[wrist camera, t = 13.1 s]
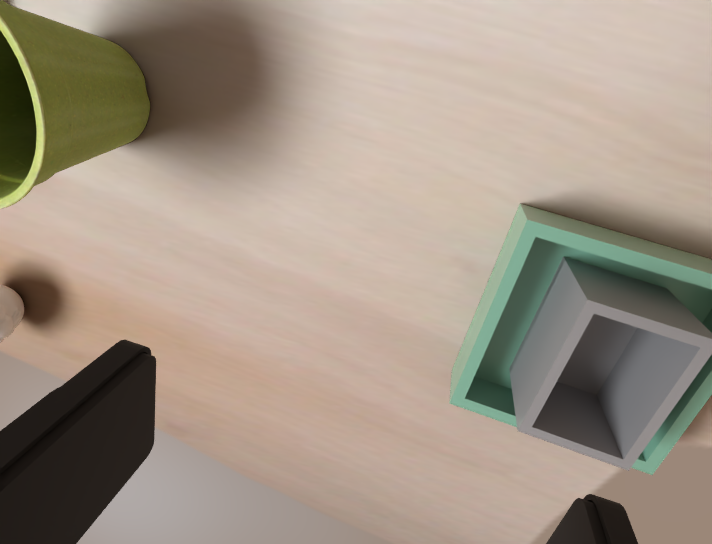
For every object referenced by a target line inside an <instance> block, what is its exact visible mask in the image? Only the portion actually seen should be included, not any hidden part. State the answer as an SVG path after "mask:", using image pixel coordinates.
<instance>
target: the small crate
mask: <svg viewBox="0 0 712 544" xmlns="http://www.w3.org/2000/svg"><path fill="white" fill-rule="evenodd" d="M711 355H712V333H711V332H710V331H709V330H708V329H707V328H706V327H705V326H704V325H703V324H702V323H701V322H700V321H699V320H698V319H697V318H696V317H695V316H694V315H693V314H692V313H691V312H690V311H689V310H688V309H687V308H686V307H685V306H684V305H683V304H682V303H681V302H680V301H679V300H678V299H677V298H676V297H675V296H674V295H673V294H672V293H671V292H670V291H669V290H668V289H667V288H664V287H661V286H658V285H654V284H651V283H648V282H645V281H641V280H638V279H635V278H632V277H628V276H625V275H622V274H619V273H615V272H612V271H609V270H606V269H602V268H599V267H596V266H593V265H589V264H586V263H583V262H580V261H576V260H573V259H570V258H567V257H563V258H562V260H561V262H560V264H559V266H558V268H557V271H556V273H555V275H554V277H553V279H552V281H551V283H550V285H549V287H548V289H547V291H546V293H545V295H544V297H543V300H542V302H541V304H540V306H539V308H538V310H537V312H536V314H535V316H534V318H533V320H532V322H531V324H530V326H529V329H528V331H527V333H526V335H525V337H524V339H523V341H522V343H521V345H520V347H519V349H518V351H517V353H516V355H515V358H514V360H513V362H512V364H511V366H510V368H509V371H510V379H511V386H512V393H513V401H514V408H515V415H516V423H517V430H518V431H519V432H522V433H525V434H528V435H531V436H533V437H536V438H539V439H542V440H544V441H547V442H550V443H553V444H556V445H558V446H561V447H564V448H567V449H570V450H572V451H575V452H578V453H581V454H583V455H586V456H589V457H592V458H595V459H597V460H600V461H603V462H606V463H609V464H611V465H614V466H617V467H620V468H622V469H625V470H628V471H629V470H630V468H631V467H632V466H633V464H634V463H635V461H636V460H637V459H638V457H639V456H640V454H641V453H642V452H643V450H644V449H645V447H646V446H647V445H648V443H649V442H650V440H651V439H652V438H653V436H654V435H655V433H656V432H657V431H658V429H659V428H660V426H661V425H662V424H663V422H664V421H665V419H666V418H667V417H668V415H669V414H670V412H671V411H672V409H673V408H674V407H675V405H676V404H677V402H678V401H679V400H680V398H681V397H682V395H683V394H684V393H685V391H686V390H687V388H688V387H689V386H690V384H691V383H692V381H693V380H694V379H695V377H696V376H697V374H698V373H699V372H700V370H701V369H702V367H703V366H704V365H705V363H706V362H707V360H708V359H709V357H710V356H711Z"/></svg>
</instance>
